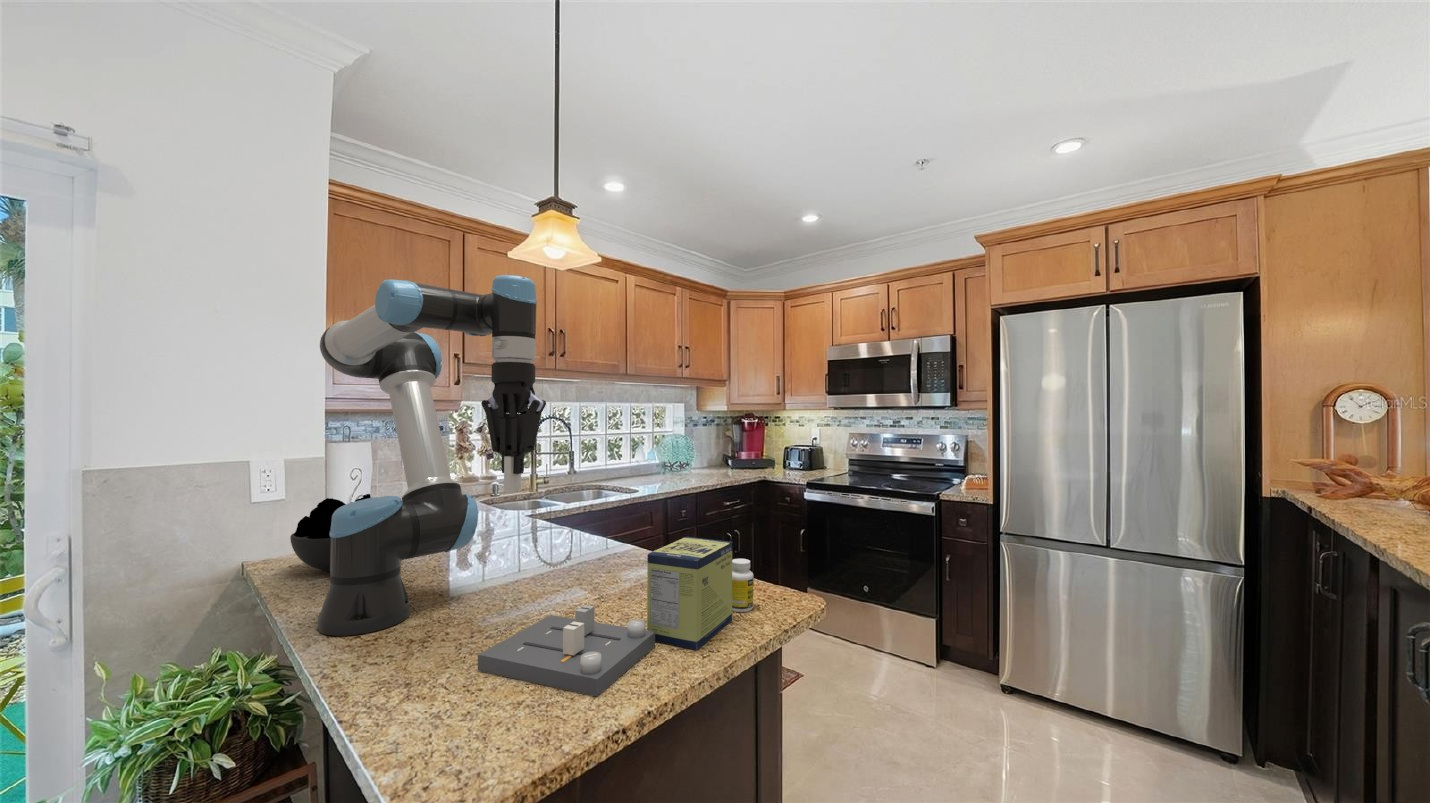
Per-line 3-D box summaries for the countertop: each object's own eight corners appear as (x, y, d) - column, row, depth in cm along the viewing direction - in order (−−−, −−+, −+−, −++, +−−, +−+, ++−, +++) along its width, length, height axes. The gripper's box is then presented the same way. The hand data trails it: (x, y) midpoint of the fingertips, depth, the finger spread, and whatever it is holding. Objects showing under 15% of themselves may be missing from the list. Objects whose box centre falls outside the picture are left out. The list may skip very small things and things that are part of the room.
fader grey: (575, 633, 93) (575, 609, 93) (584, 627, 96) (584, 604, 96) (585, 635, 92) (585, 611, 92) (594, 629, 95) (594, 605, 95)
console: (477, 670, 86) (477, 641, 86) (550, 628, 103) (550, 603, 103) (597, 696, 78) (597, 664, 78) (655, 646, 95) (655, 619, 95)
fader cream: (562, 653, 86) (563, 627, 86) (573, 646, 88) (573, 620, 88) (573, 655, 85) (573, 628, 85) (584, 648, 87) (584, 622, 88)
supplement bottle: (751, 613, 110) (751, 565, 110) (725, 611, 111) (725, 563, 111) (754, 604, 115) (755, 558, 116) (729, 602, 116) (729, 556, 117)
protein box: (733, 620, 107) (733, 540, 107) (697, 651, 93) (697, 560, 93) (686, 611, 111) (686, 535, 112) (645, 640, 97) (645, 553, 97)
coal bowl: (282, 586, 127) (284, 505, 128) (296, 565, 145) (297, 494, 145) (382, 573, 137) (383, 498, 138) (384, 555, 155) (385, 489, 155)
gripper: (470, 361, 98) (468, 492, 98) (528, 359, 93) (527, 496, 93) (500, 364, 105) (499, 487, 105) (556, 362, 100) (555, 491, 100)
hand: (512, 491), depth 99 cm, fingers closed
